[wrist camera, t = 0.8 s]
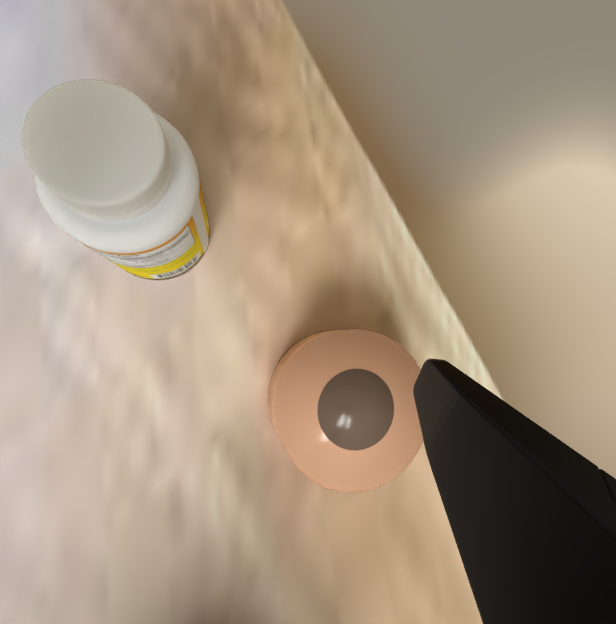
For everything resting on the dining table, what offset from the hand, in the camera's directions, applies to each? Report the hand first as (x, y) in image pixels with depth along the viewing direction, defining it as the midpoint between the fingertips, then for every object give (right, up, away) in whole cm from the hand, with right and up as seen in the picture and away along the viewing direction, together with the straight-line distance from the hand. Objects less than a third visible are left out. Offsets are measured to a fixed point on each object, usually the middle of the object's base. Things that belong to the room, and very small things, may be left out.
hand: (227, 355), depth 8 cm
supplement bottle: (-7, +5, +13) cm, 16 cm away
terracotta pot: (+3, -4, +15) cm, 16 cm away
